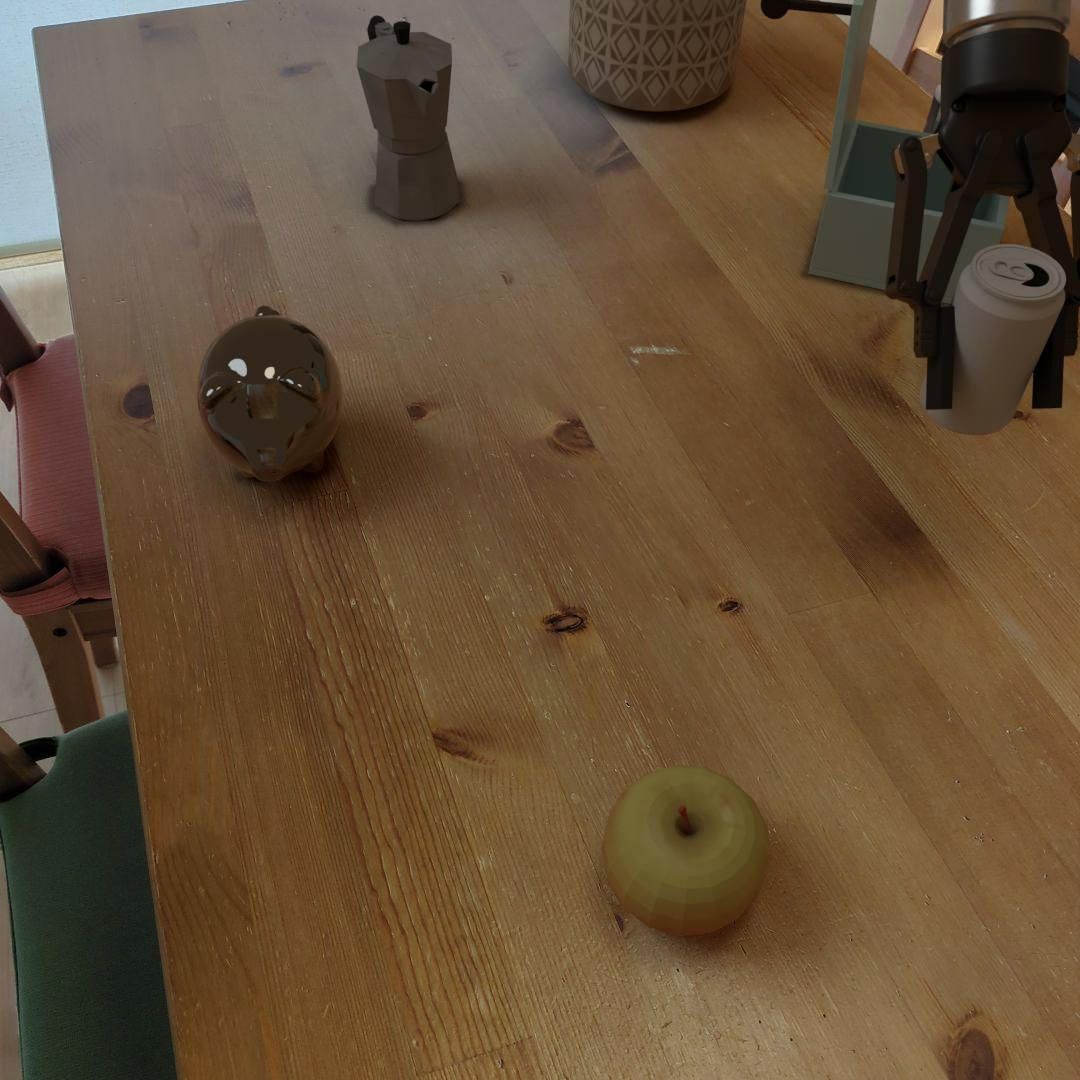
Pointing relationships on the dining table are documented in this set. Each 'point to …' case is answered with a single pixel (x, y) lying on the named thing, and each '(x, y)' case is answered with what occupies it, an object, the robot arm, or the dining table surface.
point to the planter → (655, 50)
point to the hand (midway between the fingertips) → (992, 408)
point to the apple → (685, 850)
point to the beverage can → (998, 334)
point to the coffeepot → (409, 119)
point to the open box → (889, 213)
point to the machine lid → (859, 33)
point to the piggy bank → (270, 395)
